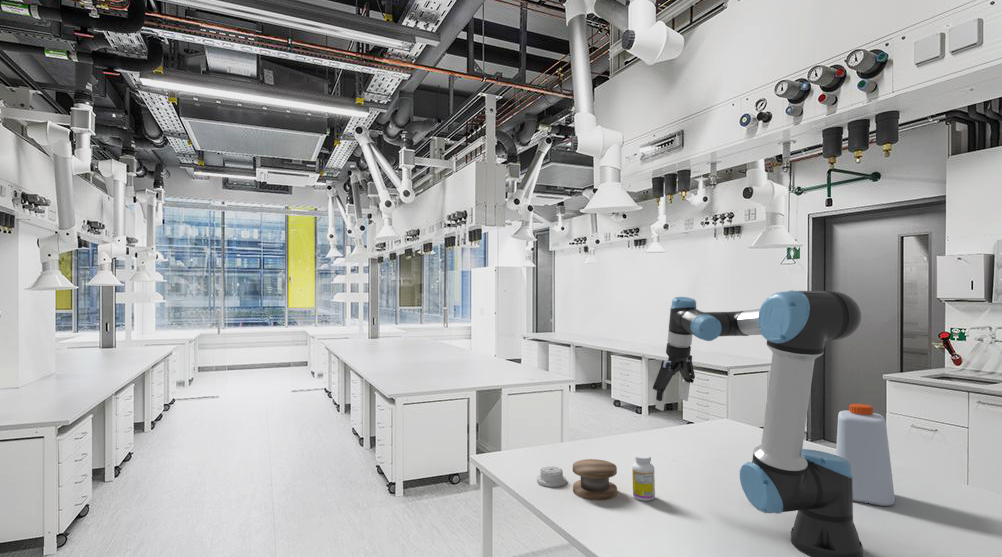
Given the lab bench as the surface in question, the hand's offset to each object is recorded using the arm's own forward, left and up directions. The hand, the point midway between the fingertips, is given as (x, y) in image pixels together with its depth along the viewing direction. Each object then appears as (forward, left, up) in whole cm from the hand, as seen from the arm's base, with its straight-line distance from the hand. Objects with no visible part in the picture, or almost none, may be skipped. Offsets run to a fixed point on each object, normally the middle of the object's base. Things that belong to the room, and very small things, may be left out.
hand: (671, 404), depth 172 cm
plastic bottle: (-22, -52, -27) cm, 63 cm away
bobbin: (0, +28, -26) cm, 39 cm away
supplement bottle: (-8, +15, -26) cm, 32 cm away
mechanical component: (+11, +39, -27) cm, 49 cm away
